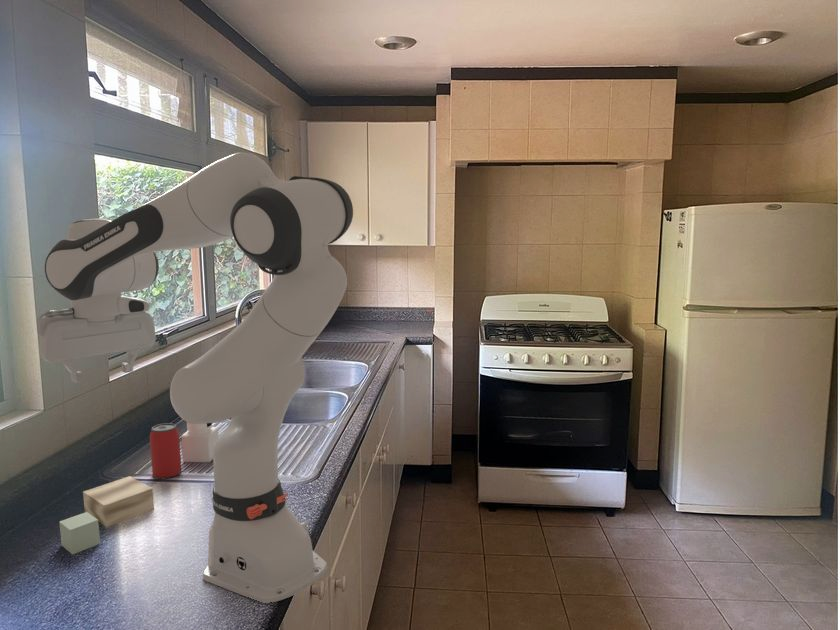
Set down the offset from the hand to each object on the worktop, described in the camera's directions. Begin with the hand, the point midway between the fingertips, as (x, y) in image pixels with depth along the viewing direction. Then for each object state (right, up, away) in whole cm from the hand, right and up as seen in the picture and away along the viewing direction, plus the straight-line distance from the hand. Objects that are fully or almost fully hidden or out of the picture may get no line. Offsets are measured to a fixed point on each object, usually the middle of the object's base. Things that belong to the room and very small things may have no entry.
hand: (103, 376), depth 118 cm
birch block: (-3, -30, +13) cm, 33 cm away
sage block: (-4, -32, -1) cm, 32 cm away
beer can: (0, -27, +31) cm, 41 cm away
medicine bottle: (+4, -25, +41) cm, 49 cm away
